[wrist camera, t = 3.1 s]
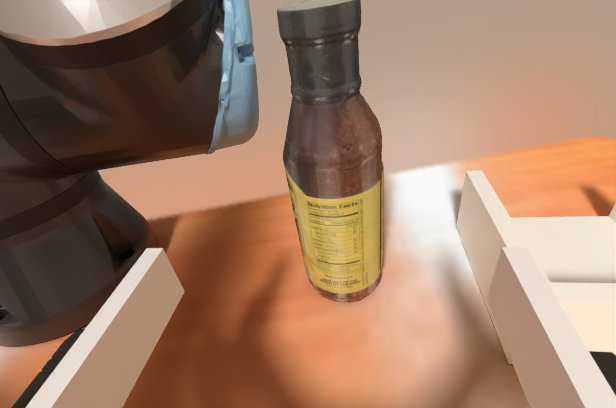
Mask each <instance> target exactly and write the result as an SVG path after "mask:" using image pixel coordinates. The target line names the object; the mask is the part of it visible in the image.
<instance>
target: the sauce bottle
mask: <svg viewBox="0 0 616 408" xmlns="http://www.w3.org/2000/svg"><path fill="white" fill-rule="evenodd" d="M277 16H278V23H279V31H280V36H281V38H282V40H283V42H284V43H285V46H286V51H287V57H288V64H289V71H290V75H291V82H292V84H291V93H292V95H293V97H292V104H291V109H290V115H289V121H288V127H287V134H286V140H285V146H284V152H283V161H284V166H285V171H286V176H287V181H288V186H289V190H290V196H291V202H292V207H293V211H294V216H295V222H296V226H297V230H298V235H299V240H300V245H301V251H302V256H303V260H304V265H305V270H306V273H307V275H308V277H309V281H310V283H311V284H312V285H313V287H314V288H315V290H316V291H317V292H319V293H320V294H321V295H322V296H323V297H325V298H327V299H329V300H333V301H337V302H353V301H359V300H362V299H363V298H365V297H366V296H368V295H369V294H370V293H371V292H372V291H373V290H374V289H375V288H376V286H378V284H379V282H380V280H381V269H382V266H383V183H384V171H383V170H384V169H383V163H382V161H381V159H382V156H381V152H382V135H381V128H380V124H379V122H378V119H377V118H376V116H375V115H374V113H373V112H372V110H371V108H370V107H369V105H368V104H367V102H366V101H365V99H364V97H363V96H362V95H361V94H360V91H359V89H360V87H361V77H360V75H359V55H358V54H359V50H358V33H359V30H360V26H361V4H360V0H301V1H295V2H290V3H287V4H283V5H281V6H279V8H278V10H277Z"/></svg>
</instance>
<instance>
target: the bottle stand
mask: <svg viewBox="0 0 616 408" xmlns="http://www.w3.org/2000/svg"><path fill="white" fill-rule="evenodd" d="M456 228H457V231H458V233H459V236H460V238H461V241H462V244H463V246H464V249H465V251H466V254H467V257H468V259H469V262H470V265H471V267H472V270H473V272H474V275H475V278H476V280H477V283H478V285H479V288H480V291H481V293H482V296H483V298H484V301H485V304H486V306H487V309H488V312H489V314H490V317H491V319H492V322H493V325H494V327H495V330H496V332H497V335H498V338H499V340H500V343H501V345H502V348H503V351H504V353H505V356H506V359H507V361H508V364H513V363H512V361H511V358H510V356H509V353H508V351H507V348H506V346H505V343H504V340H503V338H502V335H501V333H500V330H499V328H498V325H497V323H496V320H495V318H494V315H493V313H492V310H491V307H490V305H489V302H488V300H487V297H488V293H489V290H490V286H491V283H492V280H493V276H494V273H495V269H496V266H497V263H498V259H499V256H500V253H501V249H502V247H526V248H527V250H528V252H529V253H530V255H531V257H532V258H533V260H534V262H535V263H536V265H537V267H538V268H539V270H540V272H541V273H542V275H543V277H544V278H545V280H546V281H547V283H548V285H549V286H550V288H551V290H552V291H553V293H554V295H555V296H556V298H557V300H558V301H559V303H560V305H561V306H562V308H563V310H564V311H565V313H566V314H567V316H568V318H569V319H570V321H571V323H572V324H573V326H574V328H575V329H576V331H577V333H578V334H579V336H580V338H581V339H582V341H583V343H584V344H585V346H586V347H587V349H588V351H596V352H613V353H614V354H615V355H616V203H615V205H614V207H613V209H612V211H611V213H610V215H609V216H585V217H524V218H511V217H510V216H509V214H508V212H507V211H506V209H505V208H504V206H503V204H502V203H501V201H500V199H499V198H498V196H497V195H496V193H495V191H494V190H493V188H492V187H491V185H490V183H489V182H488V180H487V178H486V177H485V175H484V174H483V172H482V171H466V175H465V181H464V186H463V192H462V197H461V203H460V208H459V214H458V219H457V225H456Z"/></svg>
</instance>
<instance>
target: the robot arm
mask: <svg viewBox="0 0 616 408" xmlns="http://www.w3.org/2000/svg"><path fill="white" fill-rule="evenodd" d="M253 51H254V47H253V39H252V24H251V16H250V9H249V1H248V0H0V346H5V347H21V346H29V345H35V344H39V343H43V342H47V341H50V340H53V339H56V338H59V337H62V336H64V335H67V334H69V333H71V332H74V331H76V330H77V331H76V332H75V333H74V334H72V335H71V336H70V337H69V338H68V339H66V340H65V341H64V342H63V343H62V345H61V346H60V347H59V348H58V350H57V351H56V352H55V353H54V355H53V356H52V359H51V360H49V361H48V362H47V363H46V365H45V366H44V367H43V368H42V372H39V374H38V375H37V376H36V377H35V379H34V380H33V381H32V382H31V384H30V385H29V386H28V387H27V389H26V390H25V391H24V392H23V394H22V395H21V396H20V398H19V399H18V400H17V401H16V403H15V404H14V405H13V406H12V408H122V407H123V405H124V404H125V402H126V400H127V398H128V396H129V394H130V392H131V391H132V389H133V387H134V385H135V383H136V381H137V379H138V378H139V376H140V374H141V372H142V370H143V368H144V366H145V365H146V363H147V361H148V359H149V357H150V355H151V354H152V352H153V350H154V348H155V346H156V344H157V342H158V341H159V339H160V337H161V335H162V333H163V331H164V329H165V328H166V326H167V324H168V322H169V320H170V318H171V316H172V315H173V313H174V311H175V309H176V307H177V305H178V303H179V302H180V300H181V298H182V296H183V294H184V292H185V291H184V289H183V287H182V285H181V283H180V281H179V279H178V277H177V275H176V273H175V271H174V269H173V267H172V265H171V263H170V261H169V259H168V257H167V255H166V253H165V251H164V249H163V248H158V242H157V239H156V237H155V235H154V233H153V231H152V229H151V227H150V225H149V223H148V222H147V221H146V219H145V218H144V217H143V216H142V215H141V214H140V213H139V212H137V211H136V210H135V209H134V208H133V207H132V206H131V205H130V204H129V203H127V202H126V201H125V200H124V199H123V198H122V197H121V196H119V194H117V193H116V192H115V191H114V190H113V189H112V188H111V187H110V186H109V185H107V184H106V183H105V182H104V181H103V179H102V178H101V176H100V174H99V172H98V170H102V169H108V168H114V167H121V166H127V165H134V164H140V163H146V162H153V161H159V160H165V159H172V158H178V157H184V156H191V155H197V154H203V153H205V154H211V153H213V152H214V151H215V150H217V149H221V148H225V147H230V146H234V145H239V144H243V143H245V142H247V141H248V140H250V139H251V138H252V137H253V135H254V134H255V132H256V130H257V127H258V120H259V108H258V107H259V106H258V87H257V74H256V64H255V59H254V56H253ZM487 300H488V302H489V305H490V307H491V310H492V313H493V315H494V318H495V320H496V323H497V325H498V328H499V330H500V333H501V335H502V338H503V340H504V343H505V346H506V348H507V351H508V353H509V356H510V358H511V361H512V363H513V366H514V368H515V371H516V374H517V376H518V379H519V381H520V384H521V386H522V389H523V391H524V394H525V396H526V399H527V402H528V404H529V407H530V408H616V355H615V354H614V353H613V352H596V351H588V349H587V347H586V346H585V344H584V343H583V341H582V339H581V338H580V336H579V334H578V333H577V331H576V329H575V328H574V326H573V324H572V323H571V321H570V319H569V318H568V316H567V314H566V313H565V311H564V310H563V308H562V306H561V305H560V303H559V301H558V300H557V298H556V296H555V295H554V293H553V291H552V290H551V288H550V286H549V285H548V283H547V281H546V280H545V278H544V277H543V275H542V273H541V272H540V270H539V268H538V267H537V265H536V263H535V262H534V260H533V258H532V257H531V255H530V253H529V252H528V250H527V248H526V247H502V249H501V253H500V256H499V259H498V263H497V266H496V269H495V273H494V276H493V280H492V283H491V286H490V290H489V293H488V297H487ZM88 324H89V325H88ZM86 325H88V326H87V327H86V329H80V328H82V327H84V326H86Z"/></svg>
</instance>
